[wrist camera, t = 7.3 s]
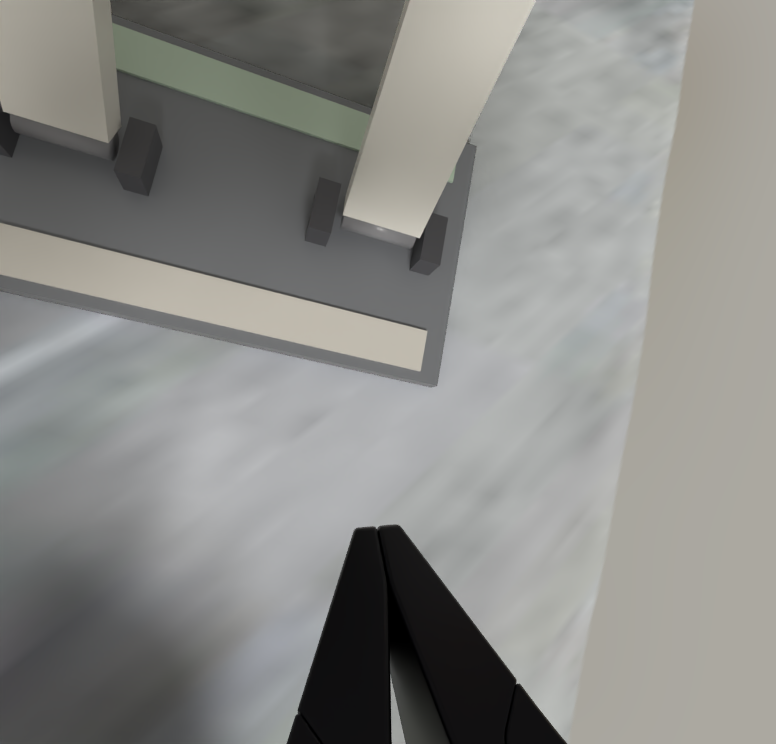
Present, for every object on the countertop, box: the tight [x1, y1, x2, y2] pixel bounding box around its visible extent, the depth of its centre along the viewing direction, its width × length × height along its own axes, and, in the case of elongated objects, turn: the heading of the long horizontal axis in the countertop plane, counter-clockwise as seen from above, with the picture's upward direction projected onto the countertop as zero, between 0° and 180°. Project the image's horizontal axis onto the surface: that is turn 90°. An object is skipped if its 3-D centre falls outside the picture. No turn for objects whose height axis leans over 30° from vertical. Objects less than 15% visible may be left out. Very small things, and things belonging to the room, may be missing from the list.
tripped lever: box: [340, 0, 536, 249], centre depth 18 cm, size 2×4×14 cm, turn 79°
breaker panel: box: [0, 14, 477, 387], centre depth 22 cm, size 13×22×2 cm, turn 79°
